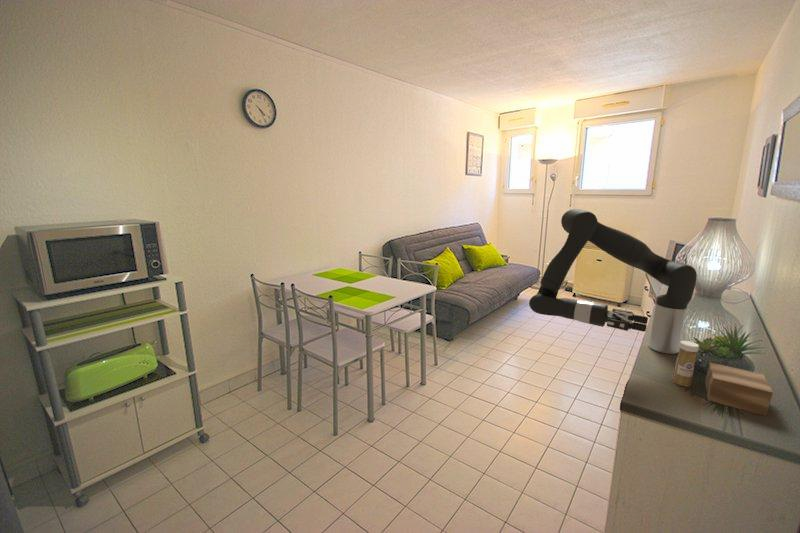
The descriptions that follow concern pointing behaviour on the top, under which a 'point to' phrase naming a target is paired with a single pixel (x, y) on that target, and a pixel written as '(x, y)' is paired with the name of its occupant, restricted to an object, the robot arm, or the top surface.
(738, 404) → the block
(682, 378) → the sprinkles bottle
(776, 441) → the top surface
